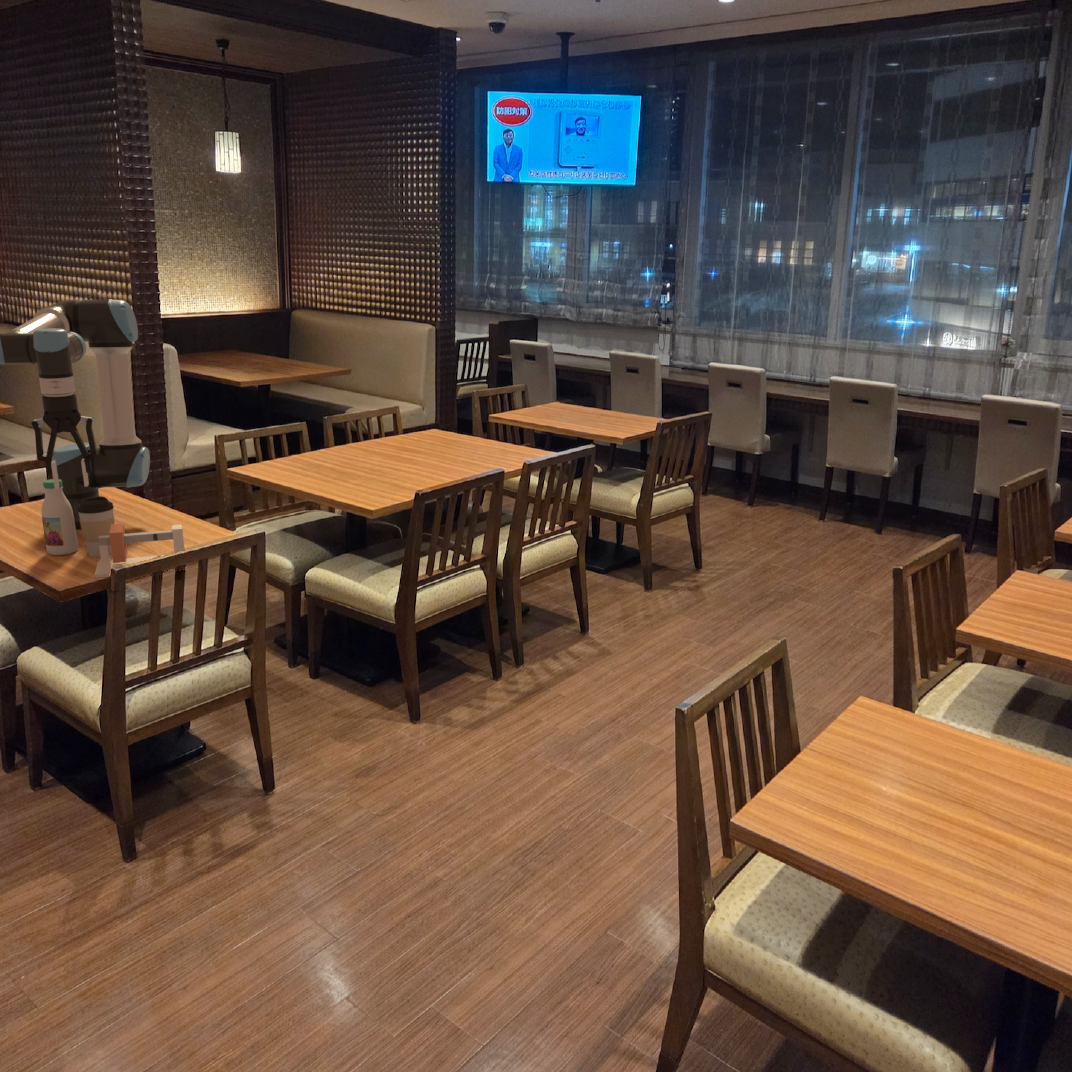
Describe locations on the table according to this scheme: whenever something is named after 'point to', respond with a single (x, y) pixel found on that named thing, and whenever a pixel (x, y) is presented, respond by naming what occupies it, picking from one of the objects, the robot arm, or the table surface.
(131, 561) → the rail
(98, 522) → the coffee cup
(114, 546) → the notched orange block
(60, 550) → the milk bottle
